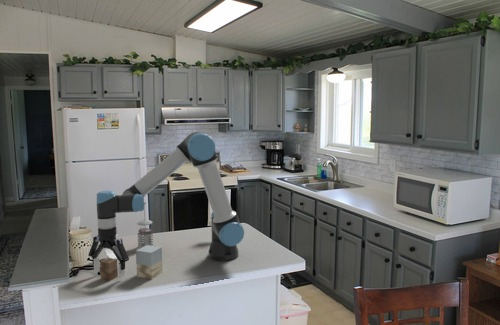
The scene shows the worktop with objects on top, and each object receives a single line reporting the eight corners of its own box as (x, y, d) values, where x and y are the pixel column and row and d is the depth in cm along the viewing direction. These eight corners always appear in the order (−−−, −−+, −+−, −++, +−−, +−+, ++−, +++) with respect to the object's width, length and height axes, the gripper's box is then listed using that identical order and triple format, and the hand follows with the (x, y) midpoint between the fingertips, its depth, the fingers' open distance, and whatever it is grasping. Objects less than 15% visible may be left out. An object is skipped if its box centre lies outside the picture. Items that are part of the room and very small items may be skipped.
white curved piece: (113, 260, 199) (112, 236, 197) (103, 259, 201) (102, 235, 200) (119, 257, 203) (118, 234, 201) (110, 256, 205) (109, 233, 204)
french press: (157, 245, 222) (156, 200, 219) (150, 252, 211) (148, 204, 208) (140, 244, 223) (138, 199, 220) (132, 251, 212) (130, 204, 209)
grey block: (162, 260, 183) (161, 247, 182) (151, 266, 175) (151, 252, 175) (147, 257, 186) (146, 245, 185) (136, 263, 178) (135, 250, 178)
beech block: (162, 272, 183) (162, 260, 183) (152, 279, 176) (151, 266, 175) (147, 270, 186) (147, 257, 186) (136, 276, 179) (136, 263, 178)
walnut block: (117, 276, 179) (117, 259, 178) (110, 281, 174) (109, 263, 173) (108, 275, 181) (108, 257, 180) (100, 279, 176) (99, 261, 175)
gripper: (136, 227, 174) (137, 275, 176) (91, 221, 183) (93, 267, 185) (124, 232, 167) (126, 282, 169) (78, 226, 176) (80, 273, 178)
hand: (109, 274), depth 177 cm, fingers open, 13 cm apart
